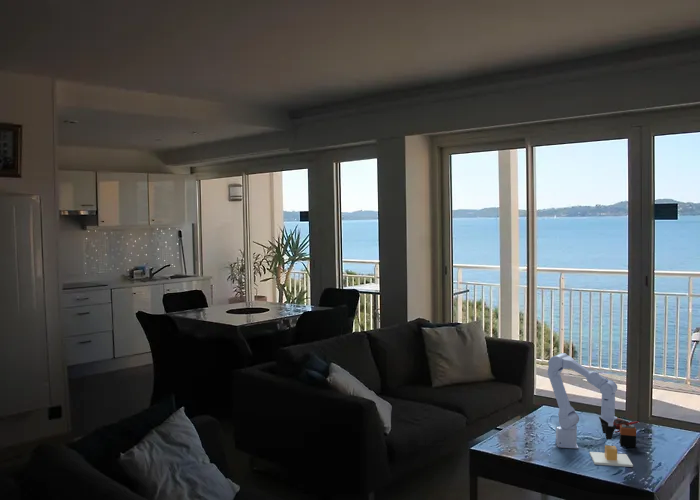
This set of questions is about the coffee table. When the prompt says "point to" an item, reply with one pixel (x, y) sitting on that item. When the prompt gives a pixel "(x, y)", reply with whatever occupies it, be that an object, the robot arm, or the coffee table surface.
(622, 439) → the battery
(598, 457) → the plate
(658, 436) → the coffee table surface
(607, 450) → the tan cardboard-like box
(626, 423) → the decorative bird figurine
